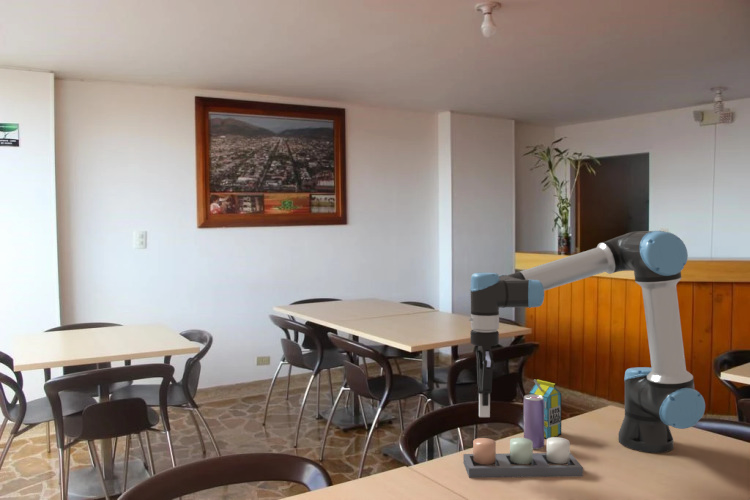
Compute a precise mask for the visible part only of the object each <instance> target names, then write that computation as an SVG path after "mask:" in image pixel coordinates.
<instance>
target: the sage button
mask: <svg viewBox="0 0 750 500" xmlns="http://www.w3.org/2000/svg"><path fill="white" fill-rule="evenodd" d="M509 453H510V460H511V461H512V462H514V463H518V464H517V465H530V464H529V463H531V462H532V461H533V453H534V449H533V442H532V441H531V440H530V439H526V438H524V437H513V438H511V439H509Z"/></svg>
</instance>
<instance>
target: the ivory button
mask: <svg viewBox="0 0 750 500" xmlns="http://www.w3.org/2000/svg"><path fill="white" fill-rule="evenodd" d="M570 445H571V444H570V440H568V439H566V438H563V437H560V436H557V437H551V438H548V439H546V453H547V460H548V461H550V462H553V463H558V464H557V465H565V464H564V463H568V462H569V461H570V453H571V451H570V449H571V448H570V447H571V446H570Z"/></svg>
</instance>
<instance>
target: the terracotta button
mask: <svg viewBox="0 0 750 500" xmlns="http://www.w3.org/2000/svg"><path fill="white" fill-rule="evenodd" d="M472 443H473V444H472V447H473V449H472V450H473V452H472V454H473V460H474V461H475V462H476V463H479V464H493V463H495V462H496V454H497V453H496V452H497V450H496V449H497V447H496V446H497V445H496V444H497V443H496V441H495V439H491V438H486V437H477V438H475V439H474V440H473V441H472Z"/></svg>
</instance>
